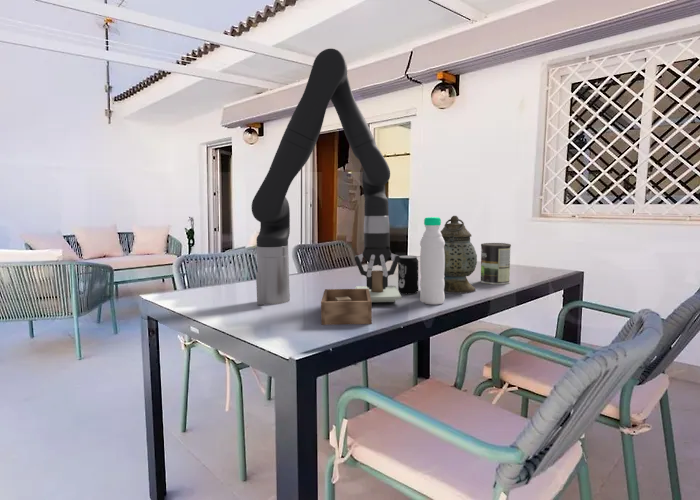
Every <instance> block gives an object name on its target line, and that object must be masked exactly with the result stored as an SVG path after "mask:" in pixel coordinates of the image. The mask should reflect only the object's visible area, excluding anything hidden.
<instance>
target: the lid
mask: <svg viewBox="0 0 700 500" xmlns="http://www.w3.org/2000/svg"><path fill="white" fill-rule="evenodd" d="M355 289H369V288H367V285H364V286H363V285H357V286H355ZM369 292H370V297H371V301H372V303H395V302H396V300H398V301H399V300H402V297H403V296H402V295H401V293H400V292H399V291H398V287H397V286H396V285H388V286H387V287H386V289H383V270H376V269H375V270H372V272H371V290H369Z"/></svg>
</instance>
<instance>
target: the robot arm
mask: <svg viewBox="0 0 700 500" xmlns="http://www.w3.org/2000/svg"><path fill="white" fill-rule="evenodd" d="M306 82H307V83H306V86H305V88H304V91H303V94H302V96H301V98H300V100H299V102H298V103H297V105H296V107H295V109H294V111H293V113H292V115H291V117H290V120H289V122H288V124H287V126H286V128H285V130H284V132H283V135H282V138H281V140H280V142H279V144H278V148H277V150H276V152H275V155H274V157H273V158H272V159H273V160H272V161H271V165H270V167H269V170H268V172H267V174H266V176H265V177H264V179H263V181H262V183H261V184H260V186H259V188H258V190H257V191H256V194H255V195H254V197H253V199H252V201H251V202H252V203H251V214H252V215H253V217H254V219H255V220H256V221H258V222H259V223H260V225H259V226H260V229H259V233H258V235H257V237H256V259H257V260H256V262H257V263H256V265H257V272H255V273H256V274H255V279H256V280H255V282H256V284H255V285H256V305H259V306H264V305H281V304H286V303H289V302H290V301H291V292H290V291H291V290H290V268H289V267H290V266H289V265H290V264H289V263H290V261H289V260H290V259H289V237H290V233H291V231H290V230H291V225H290V223H291V219H290V218H291V216H290V215H291V212H290V211H291V209H290V204H289V201H288V199H287V197H286V196H287V193H288V192H289V188H290V186H291V184H292V183H293V181H294V179H295V178H296V177H297V175H298V174H299V173H300V172H301V170H302V169H303V167H304V166H305V165H306V163H307V161H308V160H309V159H310V157H311V155H312V153H313V151H314V148H315V146H316V145H317V142H318V139H319V136H320V135H321V134H320V133H321V131H322V128H323V124H324V119H325V116H326V111H327V109H328V106H329V103H330V102H331V103H332V105H333V107H334V109H335V111H336V113H337V116H338V119H339V122H340V123H341V126H342V129H343V132H344V134H345V137H346V141H347V142H348V144H349V147H350V148H351V151H352V153H353V155H354V156H355V158H356V159H358V160H359V162H360V164H361V167H362V169H363V170H362V176H361V177H362V178H361V179H362V180H361V181H362V182H361V183H362V190H363V196H364V206H363V207H364V219H363V221H364V222H363V251H362V253H360V254H359V255H357V254H356V255H355V256H354V261H355V263H356V266H357V268H358V271H359V273H360V276H364V277H365V278H366V279H365V280H366V286H367V288H369V290H371V272H372V271H373V267H376V266H380V267H381V271H383V289H386V287H387V286H389V285H388V284H389V281H388V279H389V278H388V277H390V276H392V275H394V274H395V272H396V269H397V268H398V261H399V259H400V257H399V256H400V255H398V254H394V253H392V251H391V248H390V247H391V246H390V242H391V241H390V237H391V235H390V231H391V230H390V219H389V218H390V217H389V215H390V214H389V199H388V197H387V195H386V185H387V183H388V182H389V181H390V179H391V170H390V167H389V164H388V162H387V161H386V159H385V157H384V155H383V154H382V152H381V150H380V148H379V147H378V146H377V144H376V143H377V142H376V140H375V138H374V136H373V133H372V131H371V129H370V127H369V124H368V122H367V121H366V119H365V116H364V115H363V113H362V111H361V109H360V108H359V106H358V104H357V101H356V99H355V97H354V94H353V92H352V88H351V84H350V81H349V76H348V64H347V61H346V59H345V56H344V55H343V54H342V52H341V51H339V50H338V49H336V48H326V49H323V50H321V52H319V53H318V54H317V55H316V56H315V59H314V60H313V64H312V67H311V71H310V74H309V77H308V80H307V81H306ZM363 258H364V259H365V261H366V262H367V263H368V264H367V270H364V267H363V264H362V262H363ZM390 258H391V261H392V263H391V266H390V268H389V270H388V269H387V264H386V263H387V262H388V261H389V259H390Z"/></svg>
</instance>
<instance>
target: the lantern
mask: <svg viewBox="0 0 700 500" xmlns="http://www.w3.org/2000/svg"><path fill="white" fill-rule="evenodd" d="M449 222H450V223H449ZM459 222H460V223H459ZM443 226H444V227H443V228H442V229H441V230H440V232H441V234H442V237H443V239H444V241H445V246H444V253H445V270H444V282H445V286H444V294H456V295H461V294H473V293H474V292H476V290H477V289H476V287H474V286H473V285H472V284H471V283H470V281H468V279H467V277H470V276H471V275H472V274H473V273H474V271H475V270H476V266H477V263H478V254H477V252H476V249H475V246H474V245H473V244H472V242H471V237H472V234H471V232H470V231H469V230H468V229H467V228H466V226H465V222H464V221H463V220H461V219H460V218H459V216H457V215H453V216H451V217H450V218H449V219H447V221H446V222H445V224H444V225H443Z"/></svg>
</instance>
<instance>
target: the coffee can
mask: <svg viewBox="0 0 700 500" xmlns="http://www.w3.org/2000/svg"><path fill="white" fill-rule="evenodd" d="M480 247H481V248H480V249H481V251H480V282H481V283H482V284H485V285H491V284H492V286H493V285H494V286H495V285H496V286H497V285H498V286H500V285H501V286H502V285H503V286H504V285H509V284H510V283H511V282H510V281H511V280H510V272H511V271H510V270H511V247H512V245H511V244H510V243H505V242H504V243H503V242H486V243H485V242H484V243H481V244H480Z"/></svg>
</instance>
